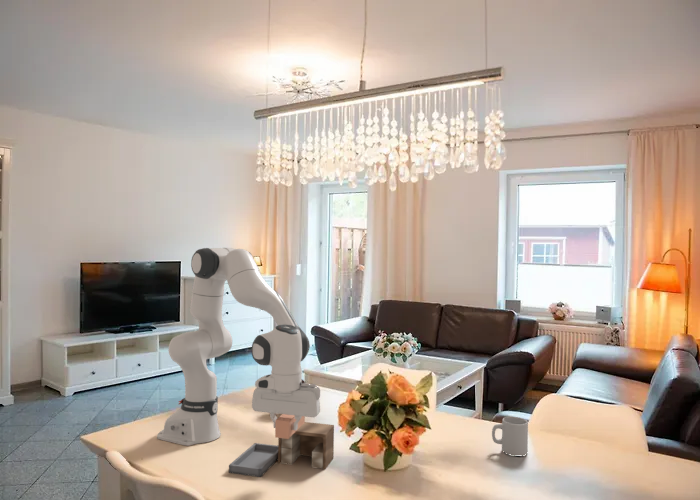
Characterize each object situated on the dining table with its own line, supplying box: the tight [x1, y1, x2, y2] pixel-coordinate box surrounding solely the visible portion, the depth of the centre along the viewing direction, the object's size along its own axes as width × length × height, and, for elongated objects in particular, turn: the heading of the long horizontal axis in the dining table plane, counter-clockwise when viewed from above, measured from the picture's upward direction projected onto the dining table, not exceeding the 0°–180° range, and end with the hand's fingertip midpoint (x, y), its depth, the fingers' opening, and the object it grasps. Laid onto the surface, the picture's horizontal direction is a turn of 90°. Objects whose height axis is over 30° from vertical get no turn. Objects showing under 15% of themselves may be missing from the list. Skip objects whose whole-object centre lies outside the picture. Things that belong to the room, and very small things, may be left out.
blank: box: [274, 414, 306, 439], centre depth 154 cm, size 4×14×5 cm, turn 166°
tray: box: [228, 442, 278, 478], centre depth 165 cm, size 11×19×2 cm, turn 166°
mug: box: [491, 416, 529, 455], centre depth 178 cm, size 12×8×11 cm
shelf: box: [277, 421, 335, 470], centre depth 168 cm, size 16×9×11 cm, turn 76°
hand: (285, 428), depth 150 cm, fingers closed on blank, 4 cm apart
